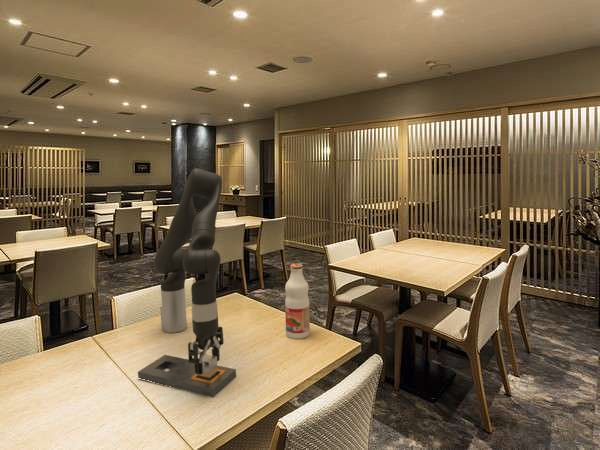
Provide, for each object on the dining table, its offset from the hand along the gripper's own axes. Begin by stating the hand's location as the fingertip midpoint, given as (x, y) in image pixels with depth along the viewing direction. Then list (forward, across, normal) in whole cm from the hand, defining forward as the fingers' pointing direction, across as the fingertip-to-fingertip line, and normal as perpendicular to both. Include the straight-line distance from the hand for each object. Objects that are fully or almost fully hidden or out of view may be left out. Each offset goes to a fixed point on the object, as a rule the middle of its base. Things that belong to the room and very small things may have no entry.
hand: (207, 367), depth 116 cm
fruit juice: (+5, -42, +12) cm, 44 cm away
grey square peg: (+5, 0, 0) cm, 5 cm away
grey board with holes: (+5, 0, -8) cm, 9 cm away
